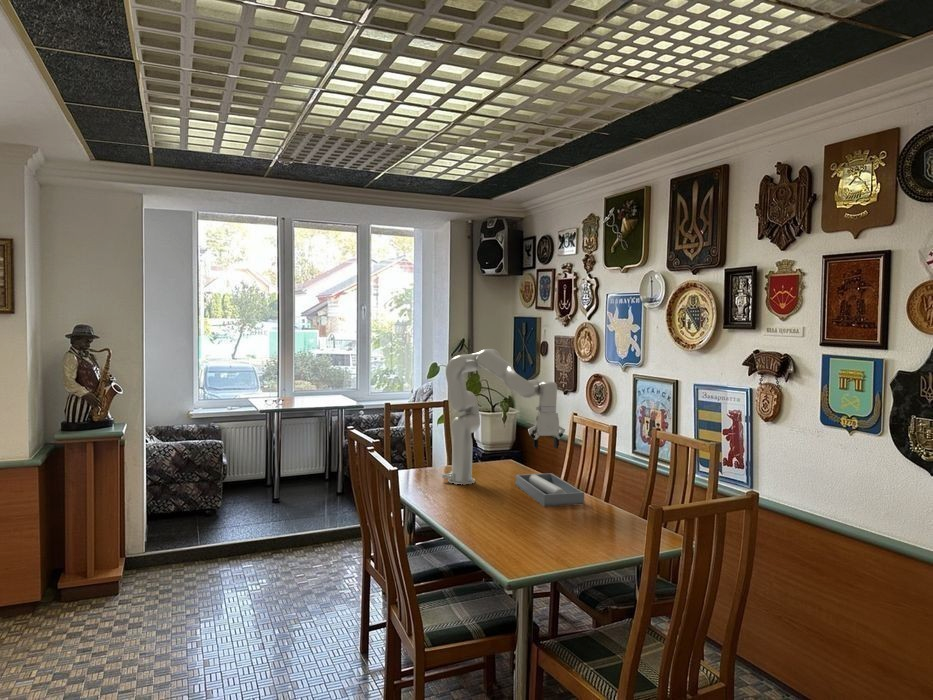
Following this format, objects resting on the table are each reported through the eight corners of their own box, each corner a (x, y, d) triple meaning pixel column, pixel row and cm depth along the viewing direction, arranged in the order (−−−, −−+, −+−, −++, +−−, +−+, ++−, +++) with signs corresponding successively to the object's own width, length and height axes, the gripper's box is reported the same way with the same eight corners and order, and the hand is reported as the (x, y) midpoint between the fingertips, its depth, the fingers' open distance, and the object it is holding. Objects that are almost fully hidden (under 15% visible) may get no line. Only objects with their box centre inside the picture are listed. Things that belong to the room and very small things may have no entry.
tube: (568, 490, 264) (540, 475, 287) (557, 487, 262) (530, 472, 285) (564, 502, 264) (536, 486, 287) (553, 499, 262) (527, 483, 285)
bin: (544, 506, 256) (544, 494, 256) (515, 485, 289) (515, 474, 288) (583, 504, 261) (584, 492, 260) (551, 483, 293) (551, 473, 293)
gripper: (532, 410, 268) (530, 450, 269) (569, 410, 273) (567, 449, 274) (526, 408, 276) (524, 446, 276) (562, 408, 280) (560, 445, 281)
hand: (545, 447), depth 275 cm, fingers open, 9 cm apart
